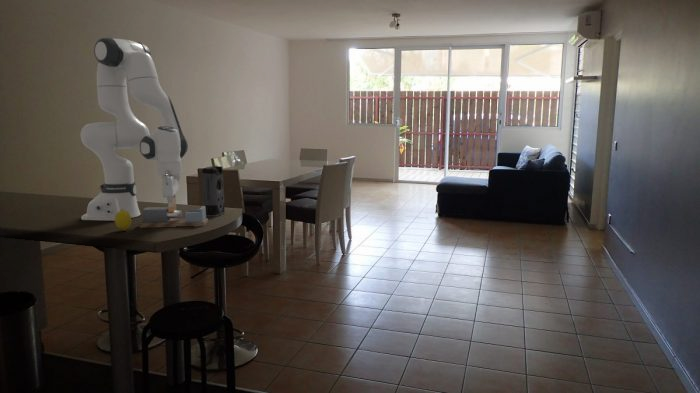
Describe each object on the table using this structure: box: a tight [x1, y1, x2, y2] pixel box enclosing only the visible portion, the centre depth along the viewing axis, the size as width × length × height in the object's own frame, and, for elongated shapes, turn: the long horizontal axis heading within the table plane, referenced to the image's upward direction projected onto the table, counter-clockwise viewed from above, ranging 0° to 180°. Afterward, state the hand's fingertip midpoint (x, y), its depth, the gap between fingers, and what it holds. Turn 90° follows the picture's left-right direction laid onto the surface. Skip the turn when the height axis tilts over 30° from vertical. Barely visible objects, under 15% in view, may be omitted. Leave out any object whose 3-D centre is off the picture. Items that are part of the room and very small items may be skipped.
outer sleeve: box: [141, 206, 172, 223], centre depth 206 cm, size 9×5×5 cm, turn 93°
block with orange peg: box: [141, 197, 183, 219], centre depth 206 cm, size 14×4×8 cm, turn 94°
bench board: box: [138, 217, 209, 228], centre depth 207 cm, size 24×8×2 cm, turn 94°
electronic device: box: [201, 165, 226, 218], centre depth 224 cm, size 9×6×20 cm, turn 168°
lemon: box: [114, 210, 132, 232], centre depth 196 cm, size 6×6×8 cm
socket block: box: [184, 205, 207, 222], centre depth 207 cm, size 6×6×5 cm
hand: (172, 205), depth 206 cm, fingers closed on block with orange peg, 4 cm apart
